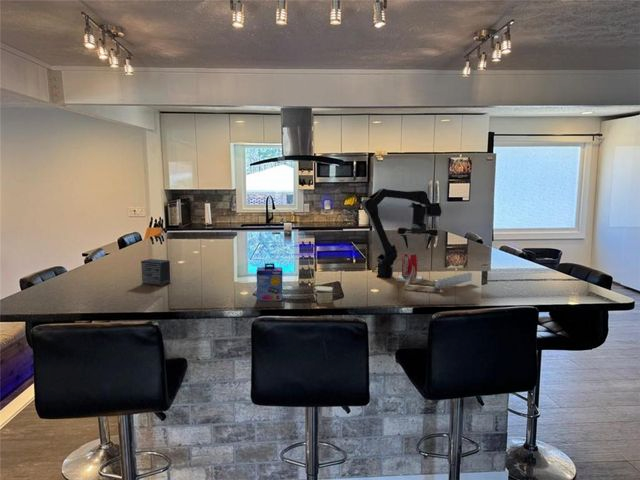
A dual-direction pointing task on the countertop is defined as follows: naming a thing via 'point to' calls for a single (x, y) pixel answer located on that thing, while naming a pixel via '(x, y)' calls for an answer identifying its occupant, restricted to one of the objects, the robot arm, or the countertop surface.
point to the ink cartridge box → (269, 283)
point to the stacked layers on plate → (323, 294)
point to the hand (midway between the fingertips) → (417, 249)
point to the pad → (406, 279)
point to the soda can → (409, 265)
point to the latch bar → (453, 280)
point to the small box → (155, 272)
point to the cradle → (420, 288)
